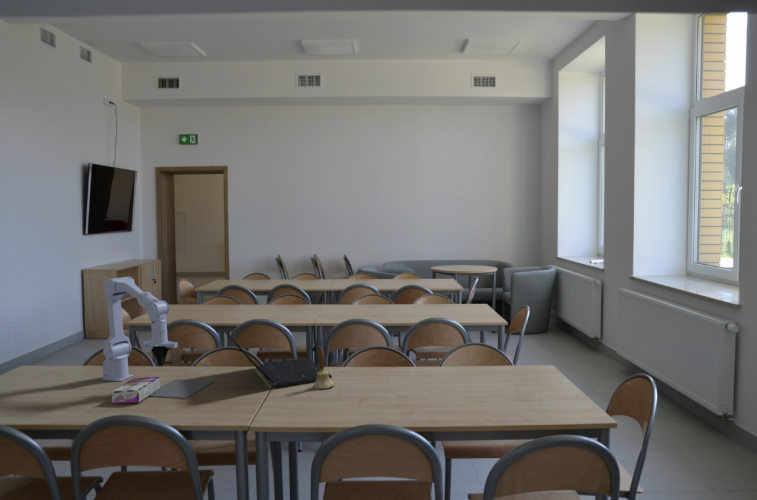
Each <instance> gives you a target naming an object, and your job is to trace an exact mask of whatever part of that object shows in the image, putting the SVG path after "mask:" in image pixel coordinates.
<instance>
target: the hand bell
mask: <svg viewBox="0 0 757 500" xmlns="http://www.w3.org/2000/svg"><path fill="white" fill-rule="evenodd" d="M324 355H325V354H324V350H323V348H322V345H319V346H317V351H316V356H317V360H318V362H319V364H318V366H319V367H320V371H319V372H317V379H316V381H314V383H313V385H312V388H313V389H315V390H325V389H329V388H332V387H334V386H335V384H334V382H333V381H332V380H331V378H329V375H328V373H329V371H327V370H325V366H324V359H325V356H324Z"/></svg>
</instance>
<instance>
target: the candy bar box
mask: <svg viewBox="0 0 757 500" xmlns="http://www.w3.org/2000/svg"><path fill="white" fill-rule="evenodd" d="M161 386H162V385H161V377H160V376H147V377H133V378H132V379H130V380H129V381H126V382H125V383H123V384H122V385H119V386H118V387H117V388H115V389H113V390H111V391H110V392H109V393H110V399H111V400H110V401H111V404H112V405H115V404H116V405H117V404H131V403H132V404H133V403H141V402H142V401H143V400H145V399H146V398H148V397H149V395H151V394H152V393H154V392H155V391H157V390H158V389H160V388H161Z"/></svg>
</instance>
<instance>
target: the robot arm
mask: <svg viewBox="0 0 757 500" xmlns="http://www.w3.org/2000/svg"><path fill="white" fill-rule="evenodd" d="M103 286H104V288H103V289H104V296H105V298H106V304H107V316H108V317H107V318H108V326H109V337H108V338H106V339H105V340H104V342H103V350H102V352H103V356H104V357H105V359H104V361H103V363H102V373H103V374H102V375H103V376H102V377H103V378H102V379H101V380H102V381H107V382H108V381H110V382H123V381H125V380H127V379H129V378H131V377H134V374H129V363H128V361H129V360H128V357H129V356H130V354H131V352H132V349H133V348H132V344H131V341H130V337H128V336H127V335H125V333H124V323H123V311H122V298H123V297H124V296H125V295H126V294H129V295H130V296H133V297H134V298H135V299H137V303H138V304H139V306H142V307H143V308H144V309H145V310H146V314H147V315H148V319H149V321H150V323H151V324H150V326H151V328H150V329H151V340H146V341H143V342H142V347H143V348H147V347H149V348H152V349H150V350H151V353H153V355H154V357H155V359H156V361H157V365H158V366H159V367H160V366H163V365H165V363H166V357H167V355H168V352H169V350H170V348H172V349H177V348H178V347H179V346H178V345H179V344H178V343H179V342H177V341H170V340H169V339H168V325H167V314H169V311H170V305H169V303H168V302H167V301H166V300H162V299H160V300H159V299H158V298H157V297H156V296H154V295H153V294H152V293H151V291H143V289H141V288H140V287H139V286H138V285H136V283H135V279H134V278H132V277H131V276H130V275H129V276H123V277H114V278H108V279H106V281H105V282H104V283H103Z"/></svg>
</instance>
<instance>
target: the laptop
mask: <svg viewBox="0 0 757 500" xmlns="http://www.w3.org/2000/svg"><path fill="white" fill-rule="evenodd" d="M224 333H225V334H226V336H227V337H228V338H229V339H230V340H231V341H232V342H233V343H234V345H235V346H236V347H237V348H238V349H239V350H240V351H241V353H242V354H244V355H243V356H245V357H246V358H247V360H249V361H250V362H251V363H252V365H253V366H254V367H255V368H256V369H257V370H258V371H259V373H261V375H262V376H263V377H264V378H265V379H266V380H267V381H268V382H269V384H270V385H271V386H272V387H274V388H282V387H283V388H284V387H288V386H294V385H295V386H296V385H301V384H306V383H307V384H308V383H311V382H313V383H314V382H316V379H317V372H319V371H320V365H319V364H317V363H315V362H314V361H313V360H312V359H310V358H308V357H304V358H303V357H302V358H296V359H289V360H283V361H276V362H270V363H264V364H256V363H255V361H253V360H252V359H251V358H250V356H249V355H248V354H247V353H246V352H245V351H244V350H243V348H242V347H241V346H240V345H239V343H237V342H236V341H235V340H234V339H233V337H232V336H231V335H230V333H228V331H226V330H224ZM328 375H329V378H330V379H332V377H333V376H332V375H331V374H330V373H329V372H328Z"/></svg>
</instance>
